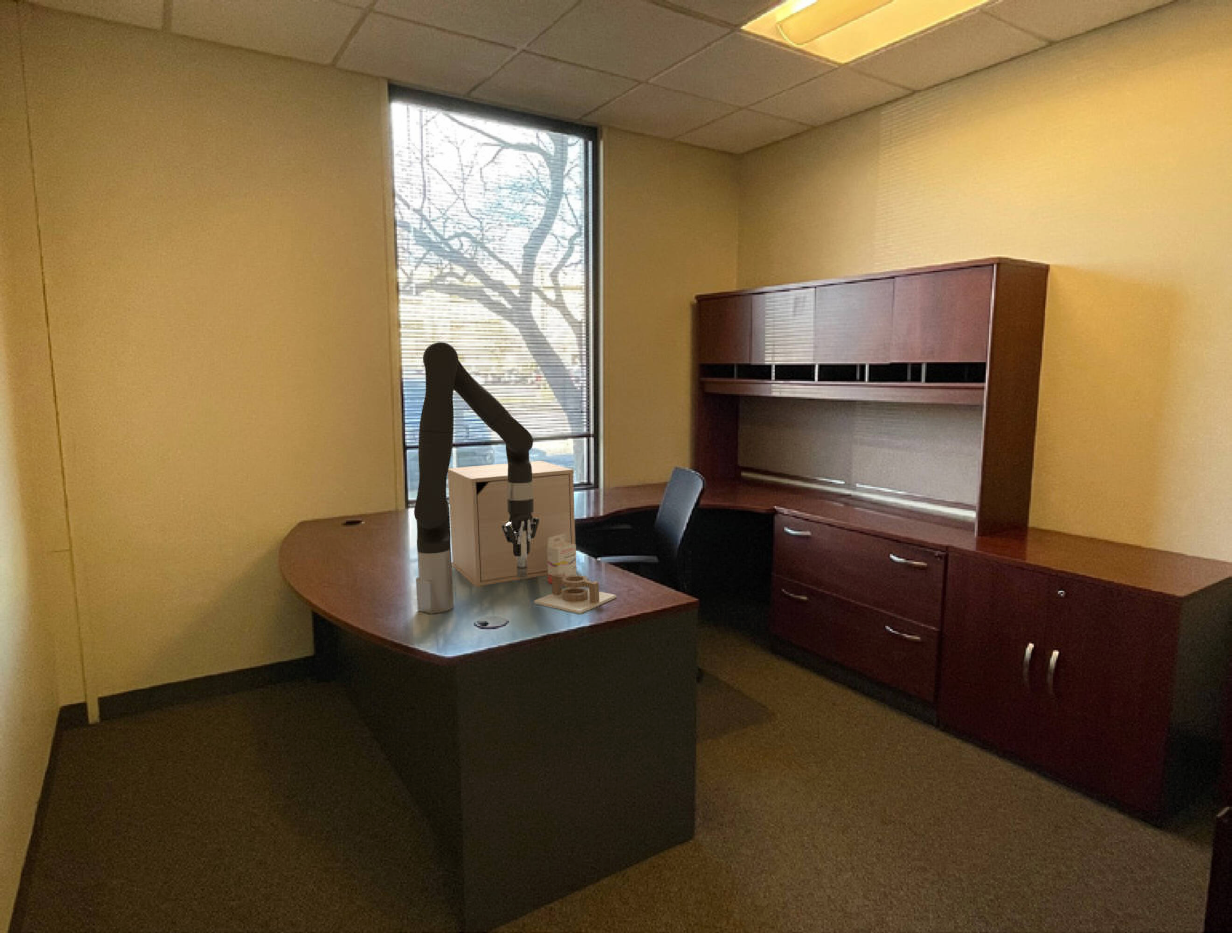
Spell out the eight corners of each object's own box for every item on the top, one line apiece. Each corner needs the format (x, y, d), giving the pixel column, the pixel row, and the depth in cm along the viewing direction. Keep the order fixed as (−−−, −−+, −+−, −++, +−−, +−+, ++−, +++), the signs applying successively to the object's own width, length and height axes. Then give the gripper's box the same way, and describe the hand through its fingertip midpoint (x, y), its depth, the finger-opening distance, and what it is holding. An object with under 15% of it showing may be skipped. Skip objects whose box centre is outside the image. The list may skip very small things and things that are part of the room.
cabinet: (475, 586, 227) (470, 478, 222) (451, 565, 253) (446, 468, 248) (576, 570, 243) (573, 469, 238) (544, 552, 269) (541, 460, 264)
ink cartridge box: (559, 585, 226) (557, 539, 224) (547, 583, 229) (546, 537, 227) (577, 579, 232) (576, 534, 230) (566, 576, 236) (564, 532, 234)
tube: (522, 578, 211) (521, 531, 209) (514, 577, 212) (513, 530, 211) (529, 576, 213) (528, 529, 211) (522, 574, 215) (521, 528, 213)
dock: (579, 613, 199) (579, 591, 198) (534, 603, 209) (533, 581, 208) (616, 597, 213) (615, 576, 212) (571, 588, 223) (571, 567, 222)
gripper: (527, 492, 217) (528, 548, 220) (493, 499, 206) (495, 558, 208) (546, 494, 213) (547, 551, 215) (512, 501, 202) (514, 561, 204)
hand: (521, 554), depth 212 cm, fingers closed on tube, 3 cm apart
